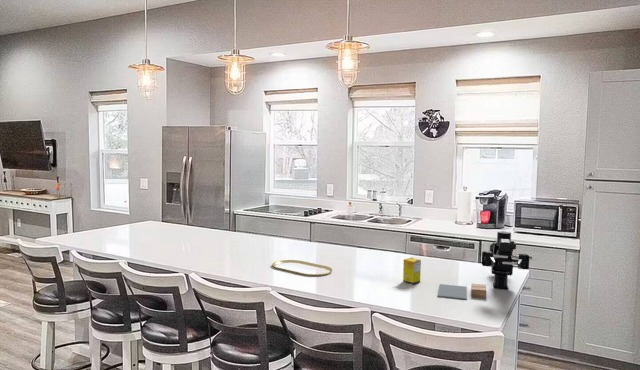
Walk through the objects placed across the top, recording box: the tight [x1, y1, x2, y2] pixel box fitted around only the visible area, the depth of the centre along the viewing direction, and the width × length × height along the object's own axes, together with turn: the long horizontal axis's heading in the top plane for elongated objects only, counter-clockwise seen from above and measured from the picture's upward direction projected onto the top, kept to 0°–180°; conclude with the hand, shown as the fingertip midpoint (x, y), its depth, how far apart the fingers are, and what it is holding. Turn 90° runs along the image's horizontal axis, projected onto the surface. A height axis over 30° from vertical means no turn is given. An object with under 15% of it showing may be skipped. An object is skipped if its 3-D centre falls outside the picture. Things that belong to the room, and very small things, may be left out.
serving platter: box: [272, 259, 333, 277], centre depth 246 cm, size 19×35×2 cm, turn 52°
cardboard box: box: [470, 283, 487, 299], centre depth 207 cm, size 10×6×4 cm, turn 163°
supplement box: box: [402, 257, 422, 285], centre depth 224 cm, size 6×6×11 cm
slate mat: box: [437, 283, 468, 301], centre depth 209 cm, size 18×12×1 cm, turn 163°
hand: (506, 264), depth 193 cm, fingers open, 9 cm apart
